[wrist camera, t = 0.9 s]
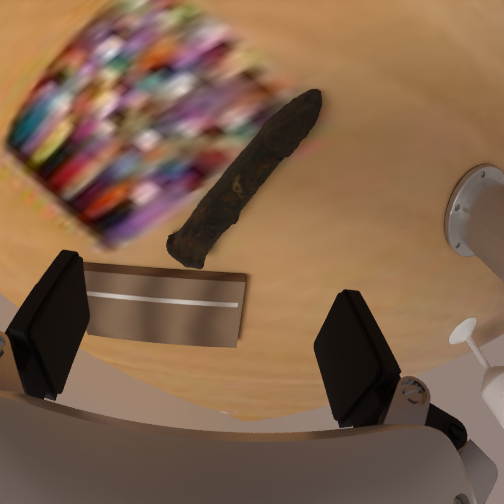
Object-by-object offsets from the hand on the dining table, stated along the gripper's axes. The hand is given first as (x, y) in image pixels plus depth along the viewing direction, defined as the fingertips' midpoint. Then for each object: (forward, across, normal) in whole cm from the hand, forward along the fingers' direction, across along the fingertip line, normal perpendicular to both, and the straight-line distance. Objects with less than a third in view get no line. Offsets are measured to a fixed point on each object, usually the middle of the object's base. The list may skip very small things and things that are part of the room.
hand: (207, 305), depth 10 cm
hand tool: (+18, -2, 0) cm, 18 cm away
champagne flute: (+18, -46, +18) cm, 53 cm away
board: (+18, +4, +16) cm, 25 cm away
